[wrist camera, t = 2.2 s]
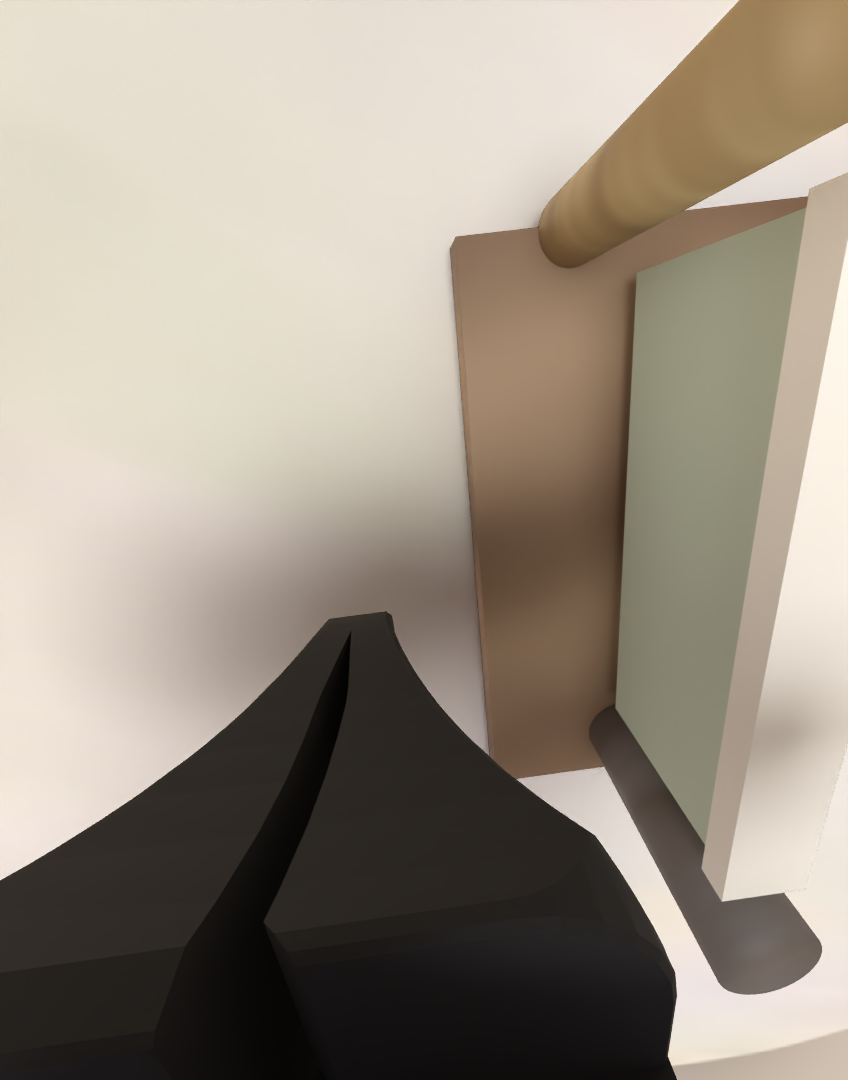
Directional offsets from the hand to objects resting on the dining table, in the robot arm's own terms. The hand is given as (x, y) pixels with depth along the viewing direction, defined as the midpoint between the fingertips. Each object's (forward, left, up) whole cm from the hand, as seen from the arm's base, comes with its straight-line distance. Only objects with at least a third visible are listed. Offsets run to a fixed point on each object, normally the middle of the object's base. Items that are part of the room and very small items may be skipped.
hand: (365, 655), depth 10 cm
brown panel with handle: (+1, -9, -3) cm, 10 cm away
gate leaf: (+1, -7, -2) cm, 7 cm away
